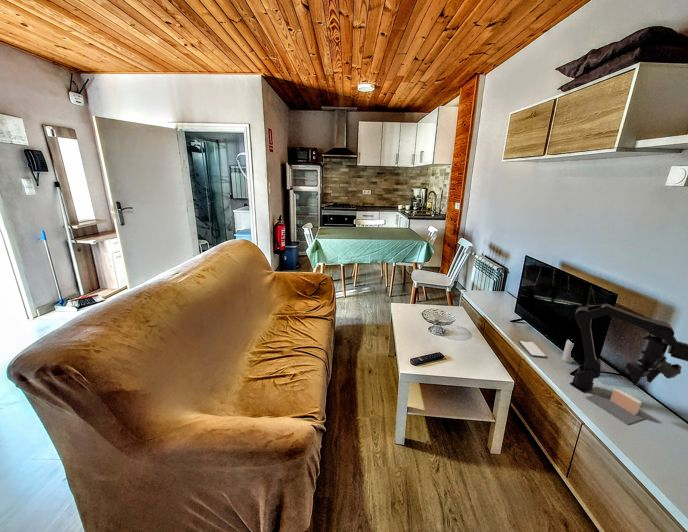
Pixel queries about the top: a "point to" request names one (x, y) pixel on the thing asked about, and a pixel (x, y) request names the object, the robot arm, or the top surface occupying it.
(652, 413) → the top surface
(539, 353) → the phone case
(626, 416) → the mat
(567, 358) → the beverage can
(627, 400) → the block
